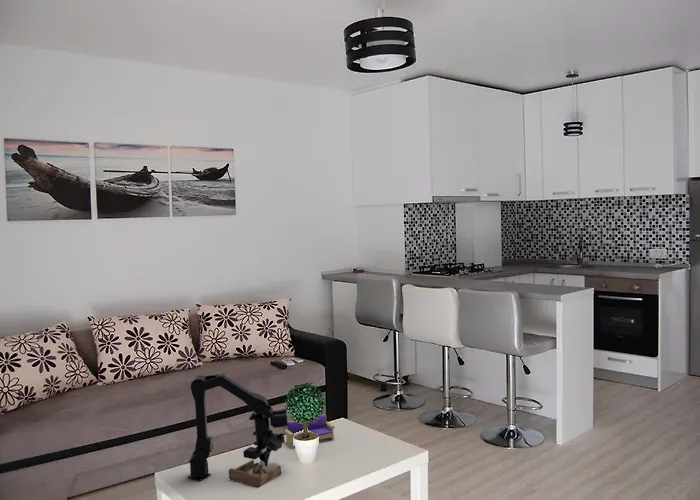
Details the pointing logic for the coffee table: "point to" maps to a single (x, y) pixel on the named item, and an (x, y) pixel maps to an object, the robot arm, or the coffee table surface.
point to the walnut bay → (252, 475)
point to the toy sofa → (310, 429)
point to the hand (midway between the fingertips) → (265, 466)
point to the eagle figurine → (258, 468)
